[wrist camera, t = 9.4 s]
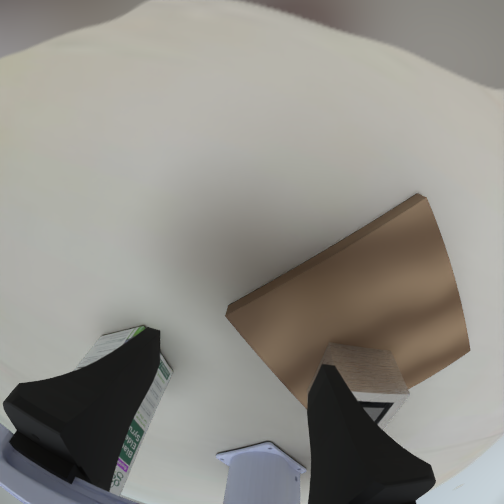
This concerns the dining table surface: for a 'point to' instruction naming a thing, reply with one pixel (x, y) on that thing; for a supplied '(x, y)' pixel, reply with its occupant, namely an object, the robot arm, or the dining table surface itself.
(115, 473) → the syrup box
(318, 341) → the board
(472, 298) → the dining table surface
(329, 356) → the cube with square recess
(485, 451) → the dining table surface
